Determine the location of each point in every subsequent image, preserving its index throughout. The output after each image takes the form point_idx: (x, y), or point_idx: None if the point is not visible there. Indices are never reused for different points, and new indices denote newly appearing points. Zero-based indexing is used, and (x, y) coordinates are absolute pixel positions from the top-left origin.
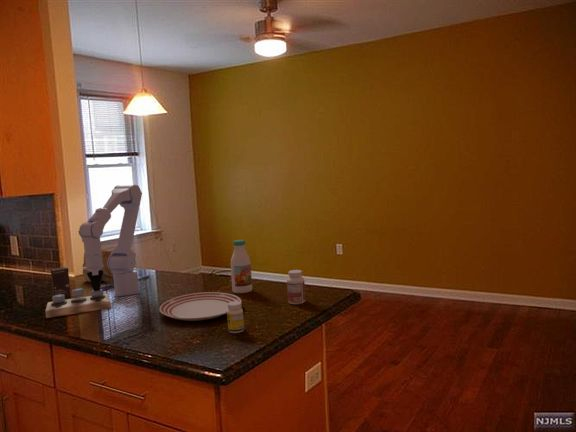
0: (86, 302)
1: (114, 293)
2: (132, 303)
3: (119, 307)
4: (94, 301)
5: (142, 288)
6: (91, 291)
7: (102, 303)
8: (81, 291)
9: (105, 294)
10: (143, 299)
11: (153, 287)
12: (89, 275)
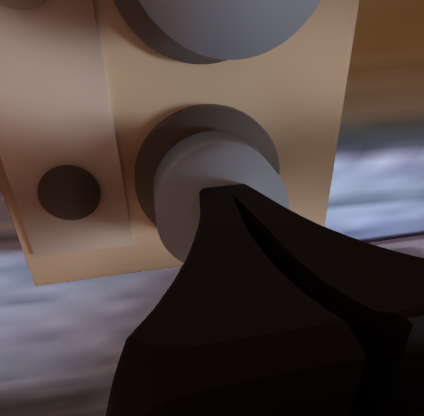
0: (47, 72)
1: (405, 245)
2: (108, 353)
3: (37, 299)
4: (57, 159)
5: None
6: (206, 158)
7: (19, 223)
8: (156, 21)
9: None
10: None
11: None
12: (112, 398)
